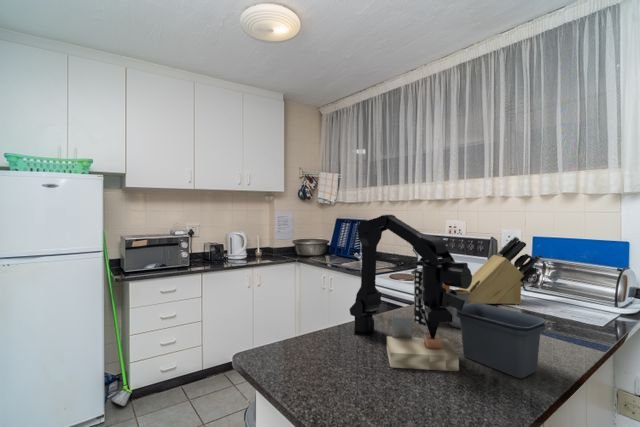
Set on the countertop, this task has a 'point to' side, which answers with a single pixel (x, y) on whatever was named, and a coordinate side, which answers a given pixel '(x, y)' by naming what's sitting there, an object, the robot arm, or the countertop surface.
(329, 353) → the countertop surface
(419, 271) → the white-spotted black cylinder
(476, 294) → the knife block
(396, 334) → the latch flap
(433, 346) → the peg
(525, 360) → the storage bin
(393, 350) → the block
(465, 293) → the coffee pot
